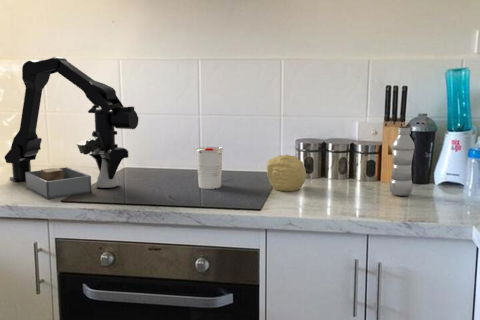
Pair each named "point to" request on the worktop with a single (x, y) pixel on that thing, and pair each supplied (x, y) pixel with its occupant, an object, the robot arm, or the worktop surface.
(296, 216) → the worktop surface
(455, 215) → the worktop surface
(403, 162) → the plastic bottle
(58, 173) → the walnut cube
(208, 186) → the white bucket
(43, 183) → the tote
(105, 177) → the flask
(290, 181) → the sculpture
